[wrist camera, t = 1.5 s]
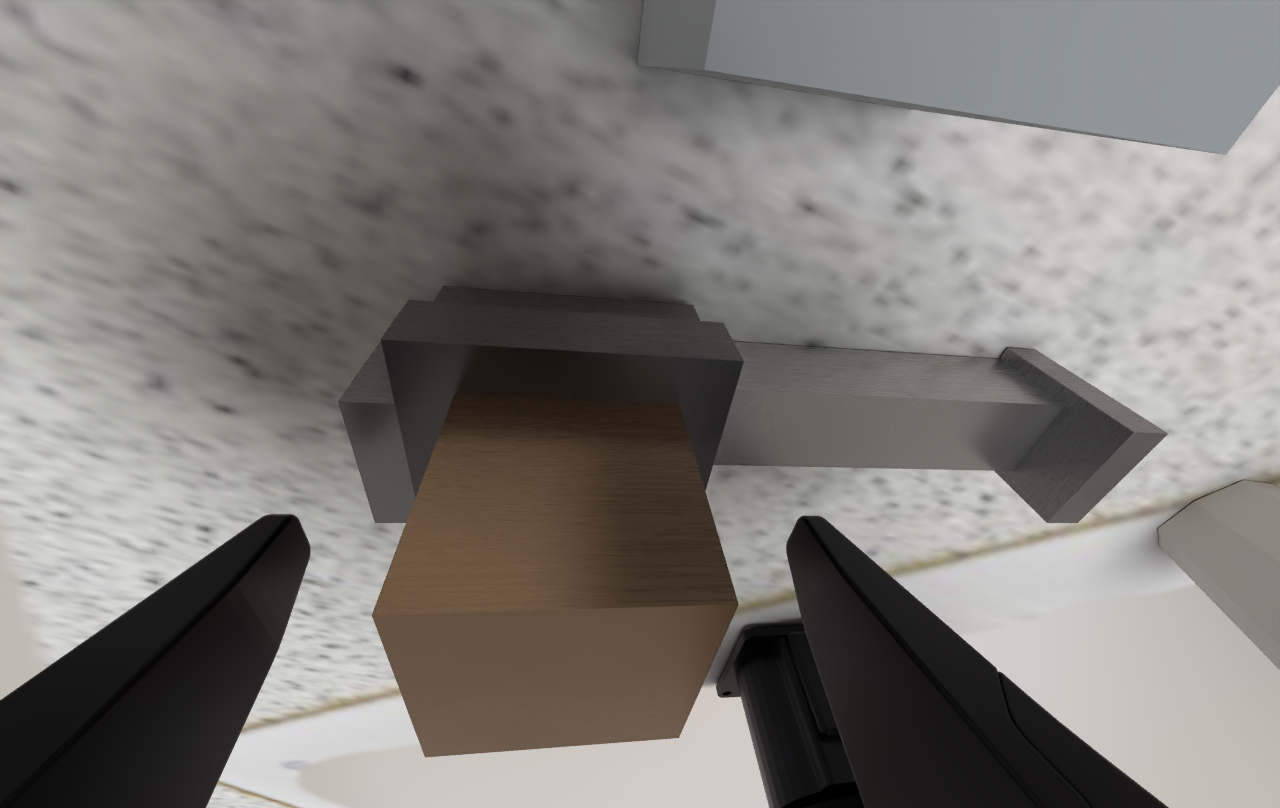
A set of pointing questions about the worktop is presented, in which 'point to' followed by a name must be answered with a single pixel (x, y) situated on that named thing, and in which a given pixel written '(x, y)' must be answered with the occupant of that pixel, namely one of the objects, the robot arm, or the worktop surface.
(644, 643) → the carriage
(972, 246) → the worktop surface
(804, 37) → the grey hollow block
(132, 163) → the worktop surface
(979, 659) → the robot arm
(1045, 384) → the rail
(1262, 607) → the low poly bottle
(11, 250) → the worktop surface
